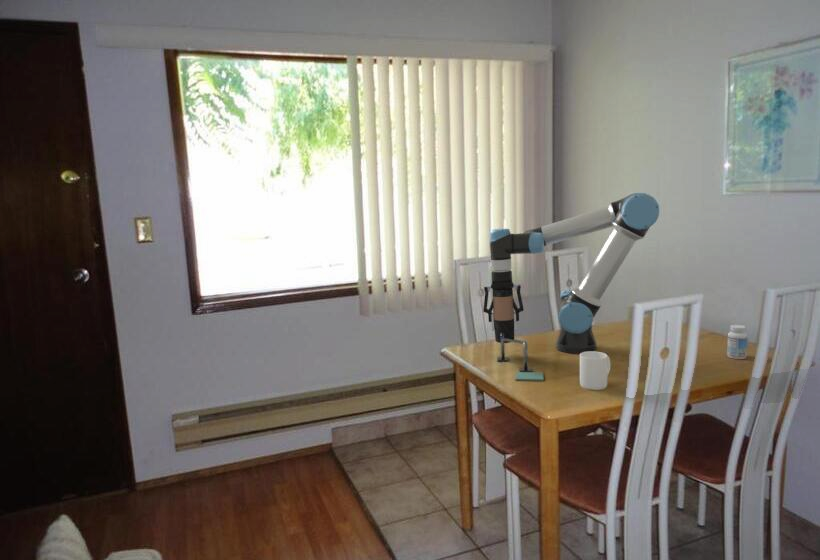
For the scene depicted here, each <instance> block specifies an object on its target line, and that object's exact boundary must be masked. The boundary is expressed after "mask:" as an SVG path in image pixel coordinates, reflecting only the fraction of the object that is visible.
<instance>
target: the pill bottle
mask: <svg viewBox="0 0 820 560" xmlns="http://www.w3.org/2000/svg"><path fill="white" fill-rule="evenodd" d="M729 327H730V328H729V329H730V331H729V332H728V334H727V347H726V348H727V350H726V354H727V357H728V358H730V359H732V360H733V359H734V360H745V359H746V358H747V356H748V338H749V337H748V334H747V333H746V329H747V328H746V326H745V325H741V324H731V325H730V326H729Z"/></svg>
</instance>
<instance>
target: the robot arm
mask: <svg viewBox="0 0 820 560" xmlns="http://www.w3.org/2000/svg"><path fill="white" fill-rule="evenodd" d="M659 215H660V206H659V203H658V201H657V199H656V198H654V196H651V195H650V194H647V193H645V192H635V193H631V194H629V195H627V196H625V197H623V198H620V199H618V200H616V201H612V202H609V204H608V205H607V206H606V207H602V208H599V209H596V210H592V211H589V212H585V213H583V214H579V215H575V216H573V217H570V218H565V219H563V220H558V221H556V222H552V223H550V224H546V225H543V226H540V227H536V228H534V229H532V228H531V229H528V230H525V231H524V232H523V233H512V232H511V229H510V228H494V229H491V230H490V231H489V248H490V249H489V251H490V269H491V270H492V271H491V284H490V285H484V288H483V290H484V301H483V313H485V314H488V317H487V318H488V322H489V323H491V328H492V329H491V332H495V329H494V314H493V307H494V304H493V299H492V300H491V302H490V306H489V308H488V302H489V293H490V291H491V290H492V291H493V290H497V291H500V290H511V289H514V291H515V292H516V295H517V299H518V300H517V301H518V305H519V308H518V306H517V303H516V301H515V299H514V297H513V298H512V299H513V308H514V331H517V322H519V321H520V313H521V312H523V311H524V305H523V299H522V294H521V284H515V283H513V273H512V268H513V267H512V255H521V254H524V255H526V254H533V255H535V254H541V253H543V252H544V251H545V250H544V249H545V247H546V246H549V245H552V244H556V243H560V242H563V241H564V242H565V241H567V240H572V239H574V238H578V237H582V236H585V235H588V234H592V233H595V232H598V231H602V230H605V229H609V228H612V231H611V232H610V233H609V236H608V237H607V239H606V240H605V242H604V244H603V245H602V247H601V249H600V250H599V252H598V254H597V255H596V257H595V259H594V260H593V261H592V264H591V265H590V267H589V269H588V271H587V272H586V274H585V275H584V277H583V278H582V280H581V282H580V283H579V285H578V287H574V288H572V289H568V290H562V291H561V292H560V296H559V299H560V307H559V311H558V315H557V319H558V322H559V325H560V329H559V333H558V335H557V339H556V343H555V348H556V350H558V351H559V352H563V353H567V354H580V353H582V352H587V351H597V341H596V339H595V336H594V335H595V334H594V332H593V321H594V318H595V316H597V313H598V311H599V310H600V309H601V307H602V303H601V298H602V297H603V295H604V294H605V292H606V291H607V289H608V287H609V286H610V284H611V282H612V281H613V279H614V277H615V275H616V274H617V272H618V271H619V269H620V268H621V266H622V264H623V263H624V261H625V260H626V258H627V257H628V254H629V253H630V251H631V249H632V248H633V246H634V245H635V243H636V242H637V241H639V240H643V239H644V238H645V235H647V233H648V231H649V230H650V228H651V227H652V226H654V224H656V222H657V220H658V219H659V217H660V216H659Z"/></svg>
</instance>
